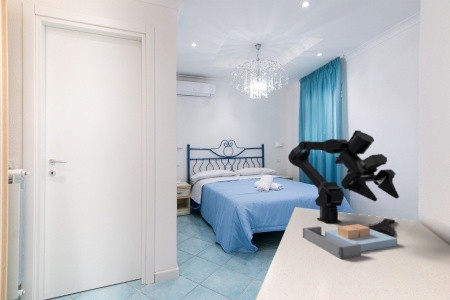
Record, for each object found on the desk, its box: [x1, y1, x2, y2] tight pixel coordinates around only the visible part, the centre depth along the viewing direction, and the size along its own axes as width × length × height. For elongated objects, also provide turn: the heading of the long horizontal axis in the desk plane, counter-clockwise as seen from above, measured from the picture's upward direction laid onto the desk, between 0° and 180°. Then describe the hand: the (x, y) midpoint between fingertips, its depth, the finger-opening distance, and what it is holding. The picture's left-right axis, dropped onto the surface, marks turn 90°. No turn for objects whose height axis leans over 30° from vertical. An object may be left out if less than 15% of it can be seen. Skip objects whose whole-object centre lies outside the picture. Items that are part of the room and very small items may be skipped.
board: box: [324, 228, 398, 252], centre depth 72 cm, size 12×16×2 cm
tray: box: [302, 225, 362, 260], centre depth 69 cm, size 16×7×3 cm, turn 17°
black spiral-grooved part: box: [367, 217, 396, 237], centre depth 85 cm, size 8×4×25 cm
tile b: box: [337, 225, 359, 239], centre depth 71 cm, size 4×4×2 cm
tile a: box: [348, 223, 370, 237], centre depth 72 cm, size 4×4×2 cm
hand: (387, 199), depth 71 cm, fingers open, 9 cm apart
